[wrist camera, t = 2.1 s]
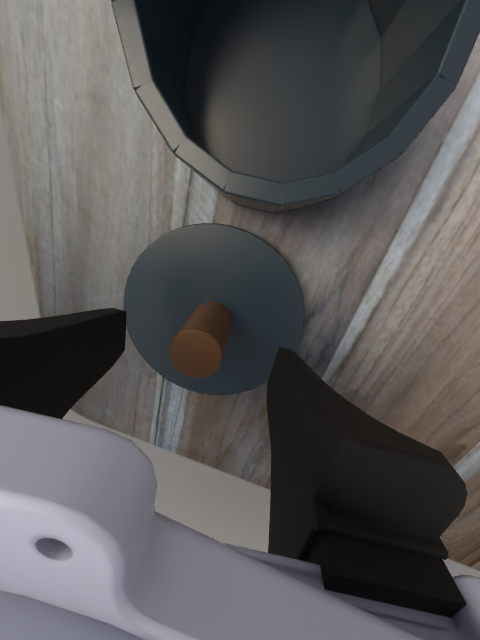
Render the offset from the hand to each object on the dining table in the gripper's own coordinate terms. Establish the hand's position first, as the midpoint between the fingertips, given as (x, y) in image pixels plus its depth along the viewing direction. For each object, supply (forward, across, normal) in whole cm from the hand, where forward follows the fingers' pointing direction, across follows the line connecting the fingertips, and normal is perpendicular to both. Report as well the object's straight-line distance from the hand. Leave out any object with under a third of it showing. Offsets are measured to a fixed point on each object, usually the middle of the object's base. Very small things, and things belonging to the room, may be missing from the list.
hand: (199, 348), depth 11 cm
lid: (+4, 0, 0) cm, 4 cm away
